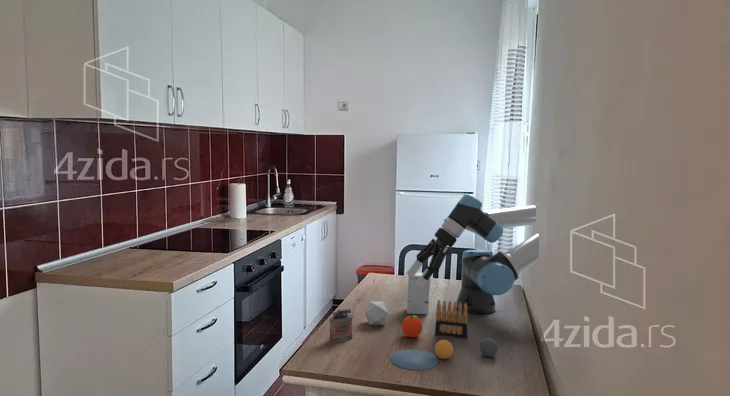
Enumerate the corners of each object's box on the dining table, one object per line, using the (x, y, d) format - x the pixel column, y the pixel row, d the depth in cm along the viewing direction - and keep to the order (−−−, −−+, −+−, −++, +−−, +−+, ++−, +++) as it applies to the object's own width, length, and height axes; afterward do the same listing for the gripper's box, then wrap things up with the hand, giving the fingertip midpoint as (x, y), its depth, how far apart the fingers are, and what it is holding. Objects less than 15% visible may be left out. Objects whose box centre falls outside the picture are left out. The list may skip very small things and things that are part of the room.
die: (380, 331, 171) (394, 307, 173) (359, 318, 172) (373, 294, 174) (379, 331, 179) (393, 308, 181) (359, 318, 180) (373, 295, 182)
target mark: (430, 349, 155) (430, 348, 155) (444, 368, 141) (444, 368, 141) (386, 351, 153) (386, 350, 153) (396, 371, 139) (396, 370, 139)
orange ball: (449, 354, 151) (450, 336, 151) (455, 361, 146) (456, 343, 146) (432, 354, 151) (432, 337, 150) (437, 362, 145) (438, 344, 145)
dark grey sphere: (493, 351, 154) (493, 334, 153) (500, 359, 148) (501, 341, 148) (476, 352, 153) (476, 335, 152) (483, 360, 147) (483, 342, 147)
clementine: (410, 330, 171) (411, 310, 170) (427, 335, 166) (428, 314, 165) (397, 337, 164) (397, 316, 164) (414, 342, 160) (415, 321, 159)
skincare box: (406, 313, 187) (407, 275, 186) (406, 308, 193) (407, 271, 192) (429, 314, 187) (430, 276, 185) (428, 309, 193) (429, 272, 191)
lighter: (331, 343, 158) (332, 312, 157) (327, 339, 161) (327, 309, 160) (354, 339, 162) (354, 309, 161) (349, 335, 165) (350, 306, 164)
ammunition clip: (467, 336, 166) (468, 301, 164) (467, 338, 164) (468, 303, 163) (435, 333, 169) (436, 298, 167) (434, 334, 167) (435, 300, 166)
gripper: (431, 221, 188) (397, 266, 188) (452, 232, 164) (414, 284, 164) (446, 232, 190) (413, 277, 190) (469, 245, 165) (431, 297, 165)
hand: (413, 280), depth 177 cm, fingers open, 13 cm apart
